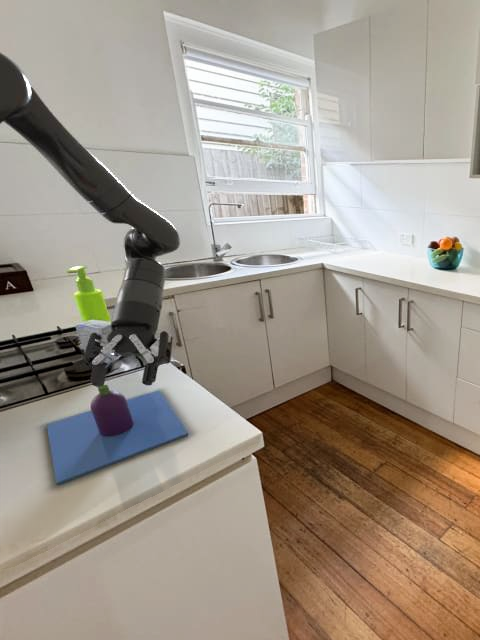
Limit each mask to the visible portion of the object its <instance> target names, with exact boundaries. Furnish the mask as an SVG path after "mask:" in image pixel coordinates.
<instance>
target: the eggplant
mask: <svg viewBox="0 0 480 640" xmlns="http://www.w3.org/2000/svg"><path fill="white" fill-rule="evenodd" d="M97 390H98V394H96V395H95V396H93V398H92V399H91V402H90V411H92V414H93V416H94V419H95V422H96V424H97V427H98V430H99V432H100V434H101V435H102V436H115V435H119V434H122V433H124V432H126V431H128V430H129V429H130V428H131V427H132V426H133V424H134V423H133V420H132V417H131V414H130V410H129V407H128V404H127V401H126V400H127V398H126V397H125V395H124V394H122V393H121V392H119V391H116V390H110V387H109V385H108V384H104V385H102V386H99V387H97Z"/></svg>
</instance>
